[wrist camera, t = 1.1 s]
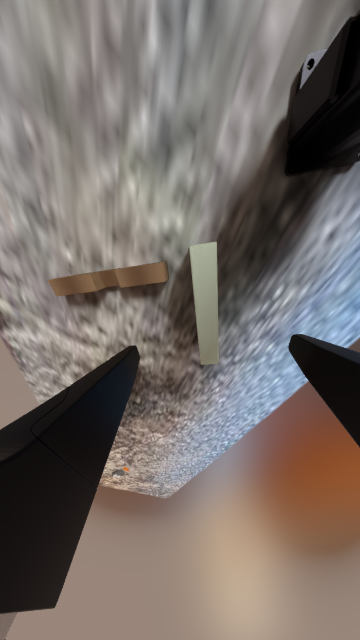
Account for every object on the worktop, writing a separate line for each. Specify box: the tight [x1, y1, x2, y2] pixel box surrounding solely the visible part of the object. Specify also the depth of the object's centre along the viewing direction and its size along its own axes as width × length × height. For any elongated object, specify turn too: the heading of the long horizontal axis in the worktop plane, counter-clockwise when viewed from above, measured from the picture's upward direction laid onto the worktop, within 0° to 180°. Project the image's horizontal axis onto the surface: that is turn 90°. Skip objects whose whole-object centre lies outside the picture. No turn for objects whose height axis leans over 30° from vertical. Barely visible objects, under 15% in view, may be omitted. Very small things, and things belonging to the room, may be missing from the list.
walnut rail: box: [48, 261, 169, 296], centre depth 17 cm, size 14×2×3 cm, turn 98°
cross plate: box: [189, 242, 219, 365], centre depth 16 cm, size 12×2×7 cm, turn 8°
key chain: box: [112, 467, 131, 478], centre depth 50 cm, size 13×4×2 cm, turn 140°
